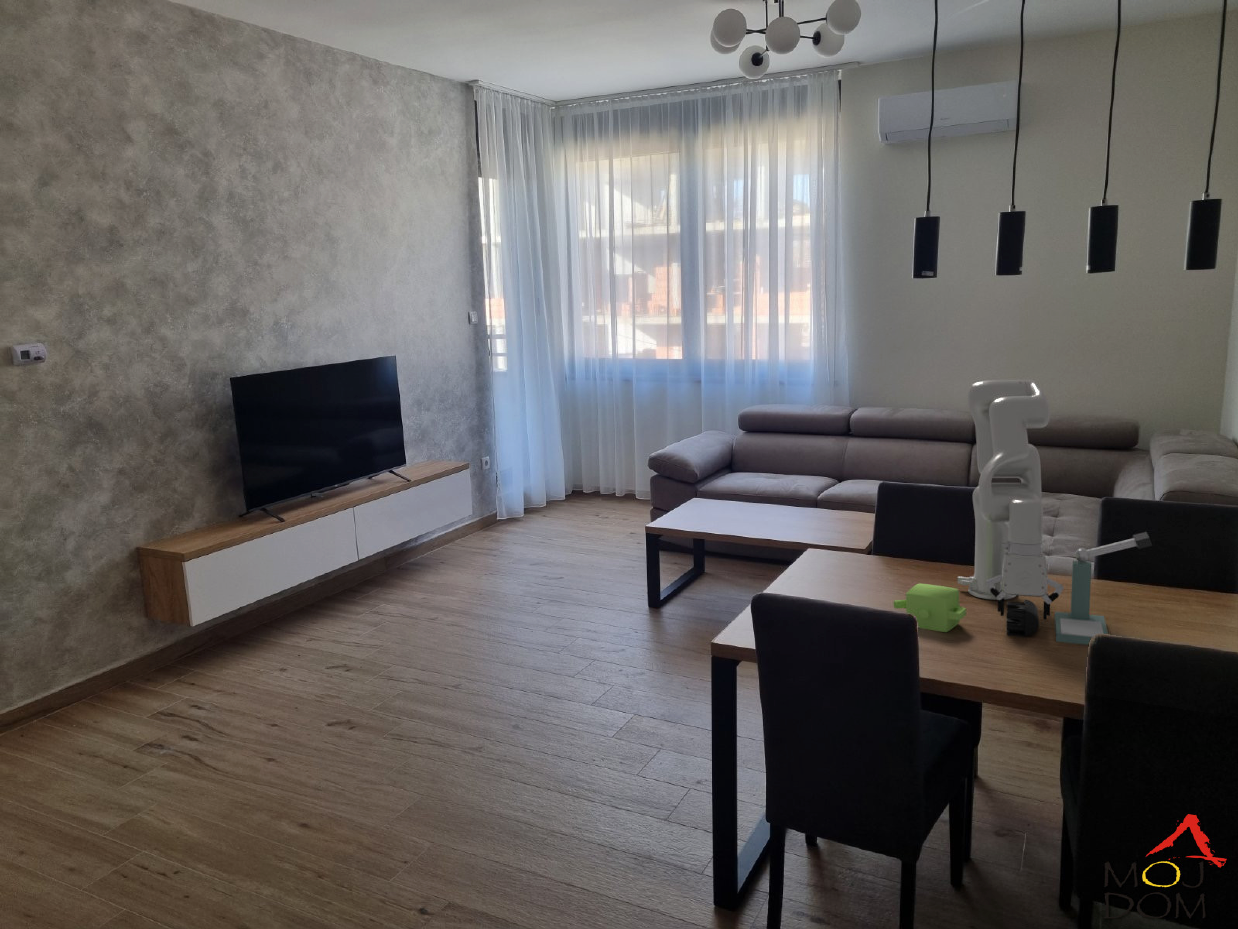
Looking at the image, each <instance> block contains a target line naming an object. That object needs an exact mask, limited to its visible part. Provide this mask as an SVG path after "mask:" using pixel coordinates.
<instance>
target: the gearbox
mask: <svg viewBox="0 0 1238 929" xmlns="http://www.w3.org/2000/svg"><path fill="white" fill-rule="evenodd" d="M893 607H894V609H906V614H907V613H910V614H913V615H914V616H916V618H917V622H918V626H919V628H918V629H923V630H929V631H935V632H941V633H942V632H943V633H948V632H949V631H951V630H952V629H955V627H956V626H957V625H959V623H960V621H961V620H963V618H965V617H966V616H967V608H966V607H963V606H960V591H959V589H958V588H955V587H949V586H943V585H936V584H928V583H921V582H919V583H917V584H915V585H914V586H912V587H911V588H910V589H908V590H907V592H905V599H897V600H896V599H895V600H893Z"/></svg>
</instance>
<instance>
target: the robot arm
mask: <svg viewBox="0 0 1238 929" xmlns="http://www.w3.org/2000/svg"><path fill="white" fill-rule="evenodd" d="M967 401H968V402H967V405H968V408H969V412H970V415H971V417H972V420H973V423H974V426H975V433H976V434H975V438H976V462H977V463H976V464H977V470H978V473H979V475H980V476H979V480H978V486H976V487H975V488H974V490H973V492H972V504H973V511H974V519H975V520H974V523H975V524H974V525H975V530H974V531H975V534H974V535H975V538H974V541H975V542H974V544H975V545H974V574H973V575H970V576H969V577H968V576H967V577H966V576H959V575H958V576H957V584H961V586H968V587H967V588H968V593H969V594H970V595H971V596H973V597H976V598H979V599H985V600H992V601H997V612H1000V617H1003V616H1004V615H1005V601H1006V600H1012V599H1014V598H1016V597H1017V596H1019V597H1020V596H1021V597H1035V598H1036V597H1037V598H1040V597H1041V598H1042V599H1043V610H1042V611H1043V612H1042V613H1043V615H1042V616H1043V620H1044V621H1045V620H1048V619H1047V618H1048V617H1050V616H1051V604H1052V603H1053V602H1054V601H1055V600H1057V599H1058V598H1059V597H1060V595H1061V594H1062V592H1063V590H1064V585H1063V584H1061V583H1059V582H1057V581H1055V580H1054V579H1051V578H1049V577H1048V566H1047V559H1046V555H1045V554H1044V553H1042V552H1043V529H1044V528H1043V524H1044V522H1043V521H1044V520H1043V519H1044V517H1043V516H1044V505H1043V504H1044V503H1043V499H1042V498H1043V497H1042V494H1043V493H1042V472H1041V469H1042V466H1041V459H1040V458H1041V457H1040V454H1039V451H1038V449H1037V447H1036V446H1035V445H1033V444H1031V443H1029V438H1028V437H1029V436H1028V430H1027V429H1043V428H1045V427H1047V426H1048V424H1049V422H1050V419H1051V408H1050V404H1049V401H1048V399H1047V397H1046V395H1045V393H1044V392H1043V390H1042V389H1041V387H1040V386H1039V384H1038V383H1037V381H1035V380H1034V379H1030V378H1029V379H989V380H982V381H977V382H974V383H972V384H971V385H970V386H969V389H968V392H967ZM993 479H1019V480H1020V481H1021V482H992V480H993ZM1006 523H1008V524H1006ZM1048 586H1051V587H1052V588H1054V589H1055V590H1054V592H1052V593H1051V594H1049V593H1048ZM1047 616H1048V617H1047Z"/></svg>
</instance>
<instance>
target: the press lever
mask: <svg viewBox="0 0 1238 929" xmlns="http://www.w3.org/2000/svg"><path fill="white" fill-rule="evenodd" d="M1152 546H1153V544H1152V541H1151V538H1150V536H1149V534H1148V532H1147V531H1144V532H1139V533H1135V534H1133V535H1132V538H1129V539H1125V540H1121V541H1118V542H1117V541H1116V542H1113V543H1109V544H1105V545H1101V546H1100V545H1099V546H1097V547H1093V548H1089V549H1087V548H1085V547H1079V548H1077V549H1076V550H1075V552H1074V554H1075V559H1076V561H1079V562H1089V560H1090V558H1092V557H1093V558H1094V557H1097V556H1102V555H1105V554H1106V555H1107V554H1110V553H1114V552H1117V551H1122V550H1125V549H1130V548H1134V547H1137V549H1144V548H1147V547H1152Z"/></svg>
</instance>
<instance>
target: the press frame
mask: <svg viewBox="0 0 1238 929" xmlns="http://www.w3.org/2000/svg"><path fill="white" fill-rule="evenodd" d="M1071 568H1072V570H1071V598H1070V612H1066V611H1065V612H1064V611H1063V612H1062V611H1054V626H1055V641H1056V642H1057V643H1065V644H1066V643H1067V644H1077V645H1078V644H1079V645H1087V646H1089V645H1088V644H1089V642H1090V640H1091V638H1092V637H1095V635H1097V634H1108V635H1109V632H1108V628H1107V624H1106V623H1107V622H1106V619H1105V616H1104V615H1099V614H1097V615H1096V614H1090V608H1091V607H1090V606H1091V604H1090V603H1091V582H1092V581H1091V580H1092V562H1091V561H1087V562H1079V561H1078V560H1072V567H1071Z"/></svg>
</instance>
